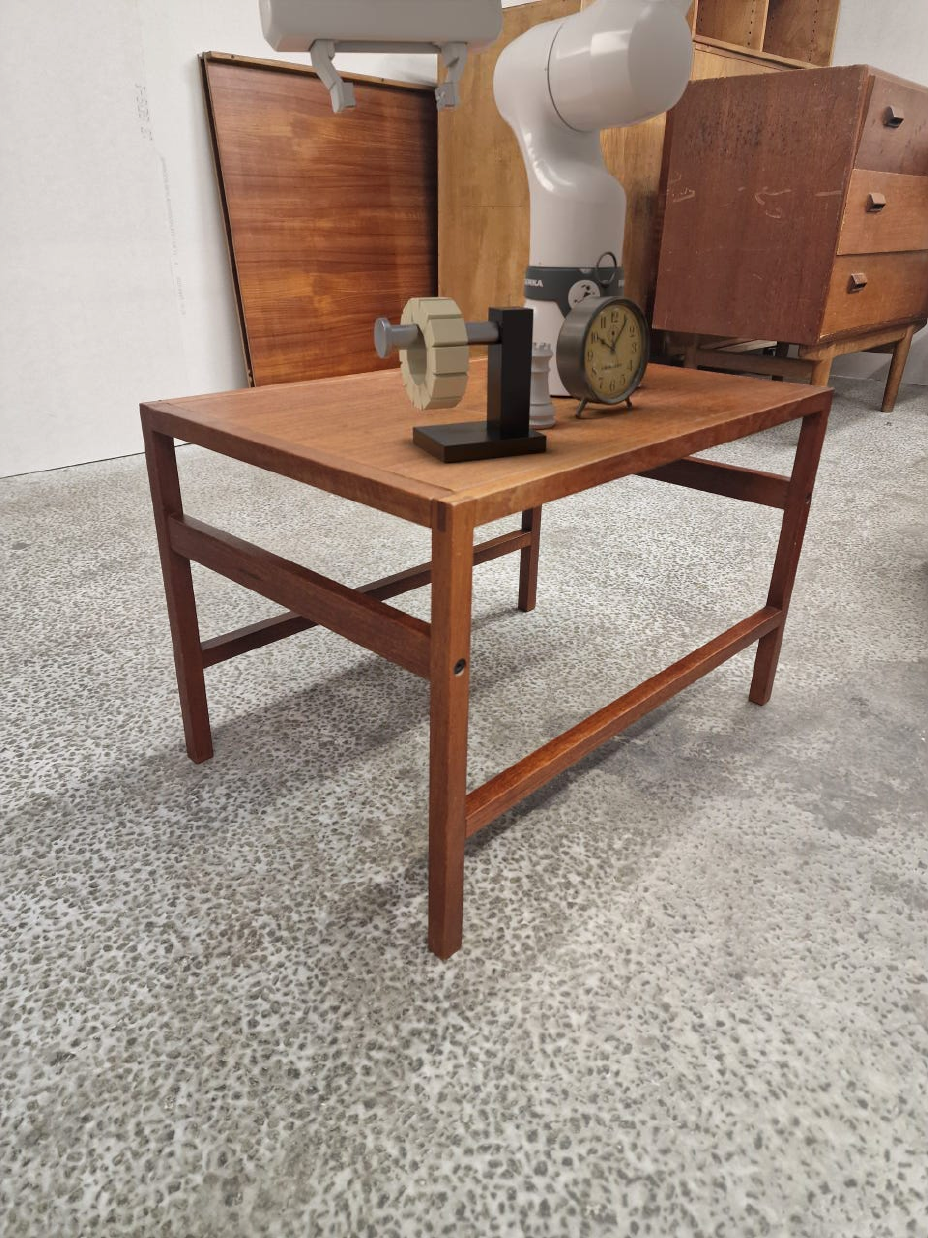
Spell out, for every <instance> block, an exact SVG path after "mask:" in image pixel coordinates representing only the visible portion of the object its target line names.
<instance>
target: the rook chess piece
mask: <svg viewBox="0 0 928 1238" xmlns="http://www.w3.org/2000/svg"><path fill="white" fill-rule="evenodd" d="M545 346H546V347H545ZM553 355H554V353H553V352H552V350H551V349H550V343H545V342H541V343H540V345H539V346H537V342H532V367H531V394H530V420H529V428H530V429H533V430H543V429H549V428H552V427H554V425H555V424H556V422H557V419H556V418H555V417H554V416H555V414H556V413H557V410H556V409H557V408H556V407H555V406H554V404H553V400H552V399H551V395H550V394H549V383H548V375H549V372H550V370H551V369H550V368H549V360H550V359H551V358H552V356H553Z"/></svg>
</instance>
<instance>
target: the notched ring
mask: <svg viewBox="0 0 928 1238" xmlns="http://www.w3.org/2000/svg"><path fill="white" fill-rule="evenodd" d="M402 312H403V313H402V314H401V317H400V324H399V325H406V324H418V325H419V327H420V329H421V331H422V333H423V335H424V339H425V344H426V349H410V350H398V353H399V362H401V364H400V372H401V376H402V381H403V386H404V387H406V388H405V392H406V395H407V396H408V398H409V400H410V402H411V404H412V405H413V407H414V408H416V409H418V410H421V411H433V410H444V409H453V408H456V407H457V406H458V405H459V404H460V403H461V402H462V400H463V396H465V393H466V389H467V385H468V381H469V374H468V373H469V372H470V346H465V345H466V344H467V342H468V337H467V333H466V328H465V323H464V322H465V319H464V318H463V312H462V311H461V309H460V308H459V305H458V304H457V303H456V300H455V299H453V297H446V296H434V297H433V296H429V297H411V298H410V299H408V300H407V303H406V304H405V306H404V308H403V310H402Z"/></svg>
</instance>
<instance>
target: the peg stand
mask: <svg viewBox="0 0 928 1238" xmlns="http://www.w3.org/2000/svg"><path fill="white" fill-rule="evenodd" d="M487 311H488V313H487V315H488V319H487V320H482V321H481V320H480V321H479V320H478V321H464V323H465V328H466V333H467V337H468V342H467V344H466V345H465V346H469V347H481V346H482V347H484V346H487V371H486V372H487V375H486V376H487V380H486V381H487V382H486V383H487V384H486V385H487V386H486V420H475V421H465V422H453V423H442V424H431V425H421V426H419V425H418V426H413V427H412V443H413V444H414V445H416V446H418V447H419V448H420V449H422V450H424V451H425V452H427V453H428V454H429V455H431V456H433V457H435V458H436V459H438V460H440V461H441V462H443V463H444V464H449V463H457V462H466V461H476V460H485V459H494V458H503V457H513V456H522V455H530V454H531V455H532V454H540V453H546V452H547V443H548V442H547V441H548V435H546V434H544V433H541V432H539V431H537V430H536V429H530V428H529V420H530V394H531V367H532V341H533V315H534V309H531V308H525V307H523V306H519V305H515V306H513V305H512V306H489V307H488V309H487ZM373 338H374V339H373V340H374V346H375V349H376V350H375V351H376V354H377V355H378V357H379V358H380V359H383V360H385V359H389V358H390V357H391V355H392V352H393V351H399V350H410V349H426V344H425V339H424V335H423V333H422V331H421V329H420V327H419V325H418V324H406V325H400V324H391V323H390V321H389V319H388V318H387V317H378V318H376V320H375V324H374V328H373Z"/></svg>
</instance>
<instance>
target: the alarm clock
mask: <svg viewBox="0 0 928 1238" xmlns="http://www.w3.org/2000/svg"><path fill="white" fill-rule="evenodd" d="M606 254H609V255H610V256H611V257H612V258H613V262H614V272H613V276H612V278H611V279H610V281H608V280H603V281H600V280H599V277H598V267H599V263H600V261H601V259H602V257H603V256H605V255H606ZM616 271H617V261H616V257H615V255H614V254H613V253H612V252H611V251H605V252H603V253H602V254H601V255H600V257H599V258H598V260H597V263H596V267H595V276H596V279H597V281H598V283H599V284H600V286H601V293H600V296H595V297H590V298H587V299H584V300H583V301H581V302H579V303H578V304H577V305H576V306H575V307H574V308H573V309H572V310H571V311H570V312H569V314H568V315H567V317H566V318H565V320H564V322H563V324H562V326H561V329H560V332H559V335H558V340H557V345H556V365H557V370H558V374H559V377H560V380H561V382H562V384H563V386H564V388H565V389H566V390H567V392H568V393H569V394H570V395H571V397H572V398H573V399H575V400H576V401H578V402H579V404H578V407H577V411H576V412H575V413H574V418H575V419H580V418H581V416H582V414H581V413H583V411H584V410H585V408H586V406H587V404H588V403H589V404H595V405H604V406H609V407H610V406H616V405H620V404H621V403H622V404H623V402H625V403H626V406H627V407H628V408H632V407H633V402H632V401H631V399H630V398H631V396H633V394H634V392H636V390H637V389H638V386H639V384H640V382H641V383H642V380H643V379H644V377H645V373H646V371H647V367H648V365H649V364H648V363H649V359H650V351H651V336H650V329H649V324H648V321H647V318H646V316H645V313H644V312H643V310H642V308H641V307H640V305H639V304H638V303H637V302H636V301H634V300H633V299H631V298H630V297H628V296H624V295H623V296H609V289H608V287H609V285H610V283H611V282H612V281H613V280H614V278H615V275H616ZM639 387H640V386H639Z"/></svg>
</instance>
